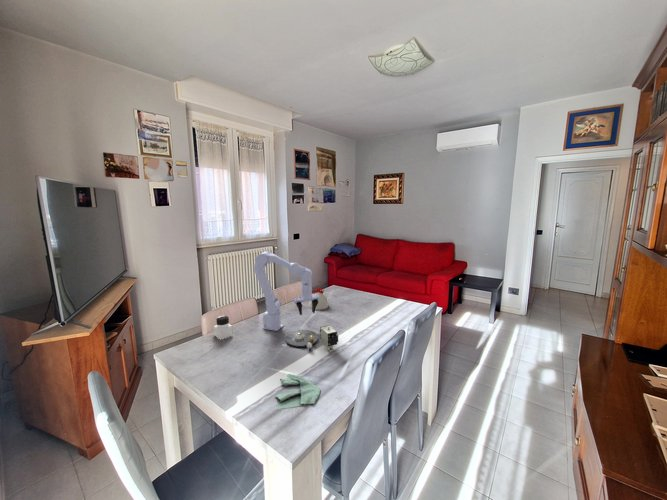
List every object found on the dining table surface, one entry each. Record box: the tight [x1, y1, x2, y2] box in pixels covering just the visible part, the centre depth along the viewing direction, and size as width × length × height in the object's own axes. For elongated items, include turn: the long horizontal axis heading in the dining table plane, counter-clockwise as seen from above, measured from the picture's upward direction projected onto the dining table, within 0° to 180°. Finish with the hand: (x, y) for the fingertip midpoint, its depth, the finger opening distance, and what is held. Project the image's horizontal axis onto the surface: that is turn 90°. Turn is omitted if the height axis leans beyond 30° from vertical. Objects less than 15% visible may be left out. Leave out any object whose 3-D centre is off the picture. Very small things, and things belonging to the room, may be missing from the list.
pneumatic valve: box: [319, 325, 339, 353], centre depth 135 cm, size 6×12×12 cm, turn 27°
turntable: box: [285, 329, 319, 347], centre depth 146 cm, size 17×17×4 cm
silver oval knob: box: [306, 342, 312, 352], centre depth 135 cm, size 3×2×4 cm, turn 70°
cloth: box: [275, 373, 321, 410], centre depth 107 cm, size 20×22×2 cm
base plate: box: [280, 333, 322, 352], centre depth 146 cm, size 19×19×1 cm
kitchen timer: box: [308, 287, 329, 311], centre depth 194 cm, size 14×14×15 cm
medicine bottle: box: [213, 315, 234, 341], centre depth 148 cm, size 7×7×12 cm
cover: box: [295, 332, 304, 342], centre depth 143 cm, size 5×5×4 cm
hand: (307, 313), depth 158 cm, fingers open, 7 cm apart
